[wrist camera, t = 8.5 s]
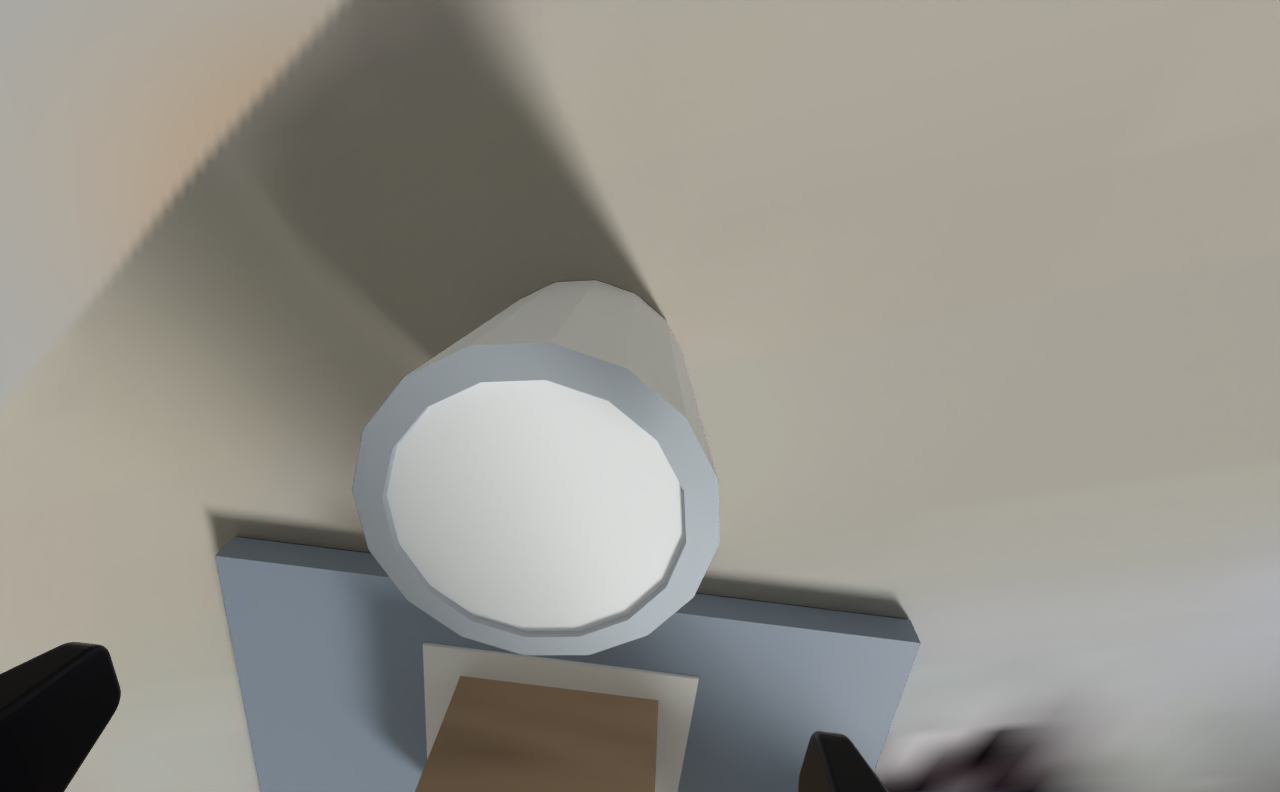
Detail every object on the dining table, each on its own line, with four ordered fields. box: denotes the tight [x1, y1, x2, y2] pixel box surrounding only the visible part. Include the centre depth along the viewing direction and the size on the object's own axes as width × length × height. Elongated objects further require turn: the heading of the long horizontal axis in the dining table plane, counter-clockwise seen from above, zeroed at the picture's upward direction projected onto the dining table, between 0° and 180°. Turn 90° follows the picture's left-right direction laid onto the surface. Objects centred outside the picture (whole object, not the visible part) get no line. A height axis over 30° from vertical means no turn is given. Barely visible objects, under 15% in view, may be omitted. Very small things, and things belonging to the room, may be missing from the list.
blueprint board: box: [215, 537, 920, 792], centre depth 23 cm, size 14×22×1 cm, turn 84°
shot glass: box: [352, 280, 720, 655], centre depth 15 cm, size 7×7×7 cm
